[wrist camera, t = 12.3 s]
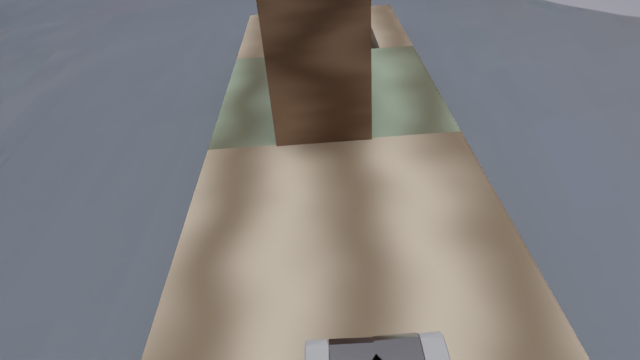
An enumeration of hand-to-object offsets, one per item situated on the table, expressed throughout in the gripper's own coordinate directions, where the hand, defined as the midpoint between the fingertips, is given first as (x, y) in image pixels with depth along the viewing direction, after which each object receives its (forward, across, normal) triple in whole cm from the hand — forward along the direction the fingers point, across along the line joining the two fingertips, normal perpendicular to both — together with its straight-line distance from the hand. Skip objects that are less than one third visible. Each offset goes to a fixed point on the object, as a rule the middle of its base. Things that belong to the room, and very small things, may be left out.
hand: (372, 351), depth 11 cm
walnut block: (+26, -1, -6) cm, 27 cm away
